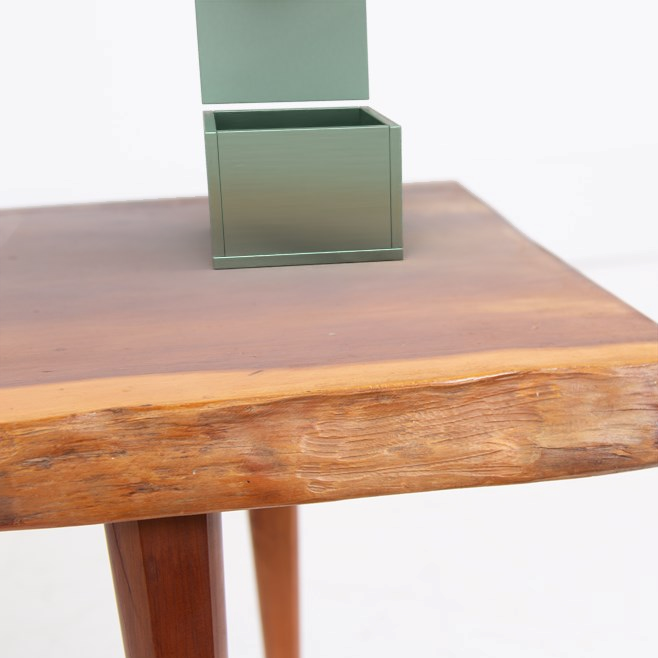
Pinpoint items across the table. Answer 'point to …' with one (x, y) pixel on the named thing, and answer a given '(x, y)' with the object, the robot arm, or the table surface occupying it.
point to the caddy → (303, 186)
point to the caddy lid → (282, 50)
